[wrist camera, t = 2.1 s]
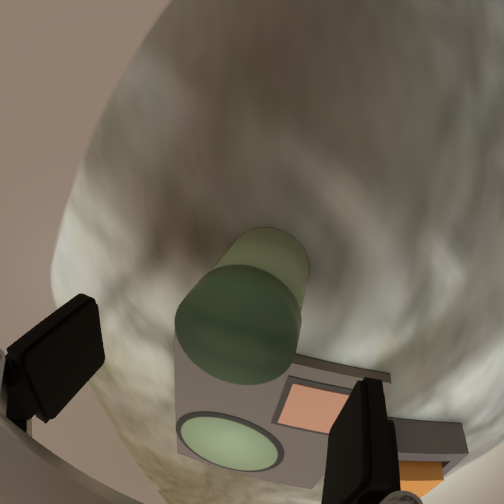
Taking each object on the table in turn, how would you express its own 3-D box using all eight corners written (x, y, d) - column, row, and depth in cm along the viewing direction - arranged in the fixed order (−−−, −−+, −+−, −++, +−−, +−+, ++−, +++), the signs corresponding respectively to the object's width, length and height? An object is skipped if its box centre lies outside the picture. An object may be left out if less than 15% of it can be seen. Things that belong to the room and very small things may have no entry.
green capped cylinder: (233, 216, 15) (176, 269, 9) (319, 237, 14) (310, 305, 9) (223, 291, 17) (174, 364, 11) (300, 311, 16) (280, 396, 11)
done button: (382, 451, 16) (382, 479, 14) (440, 454, 15) (443, 480, 13) (354, 480, 18) (352, 505, 16) (407, 483, 17) (407, 506, 15)
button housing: (371, 415, 18) (372, 450, 15) (461, 423, 16) (468, 453, 14) (332, 466, 21) (328, 495, 18) (411, 472, 20) (412, 499, 17)
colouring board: (180, 321, 18) (173, 330, 17) (390, 374, 16) (391, 385, 15) (180, 447, 25) (176, 454, 24) (312, 482, 23) (311, 490, 22)
